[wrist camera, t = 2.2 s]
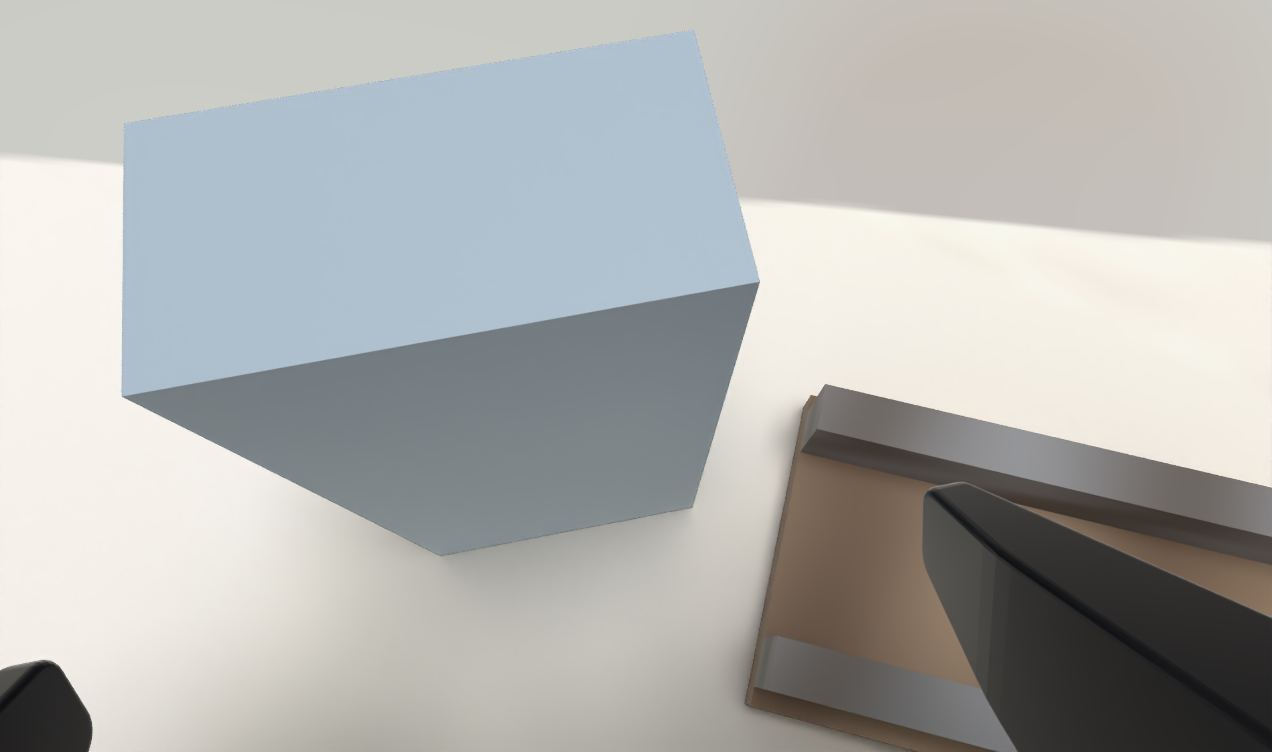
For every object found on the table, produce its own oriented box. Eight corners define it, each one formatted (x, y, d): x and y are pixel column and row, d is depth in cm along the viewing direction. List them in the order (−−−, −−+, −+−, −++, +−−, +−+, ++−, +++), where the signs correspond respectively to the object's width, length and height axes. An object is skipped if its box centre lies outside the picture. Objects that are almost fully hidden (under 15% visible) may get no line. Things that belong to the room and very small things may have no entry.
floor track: (744, 704, 18) (763, 711, 16) (803, 407, 21) (828, 366, 18) (1417, 885, 17) (1569, 930, 14) (1403, 548, 19) (1534, 528, 16)
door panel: (440, 555, 20) (122, 395, 8) (426, 433, 20) (123, 122, 9) (692, 507, 20) (759, 282, 8) (667, 388, 21) (694, 29, 9)
